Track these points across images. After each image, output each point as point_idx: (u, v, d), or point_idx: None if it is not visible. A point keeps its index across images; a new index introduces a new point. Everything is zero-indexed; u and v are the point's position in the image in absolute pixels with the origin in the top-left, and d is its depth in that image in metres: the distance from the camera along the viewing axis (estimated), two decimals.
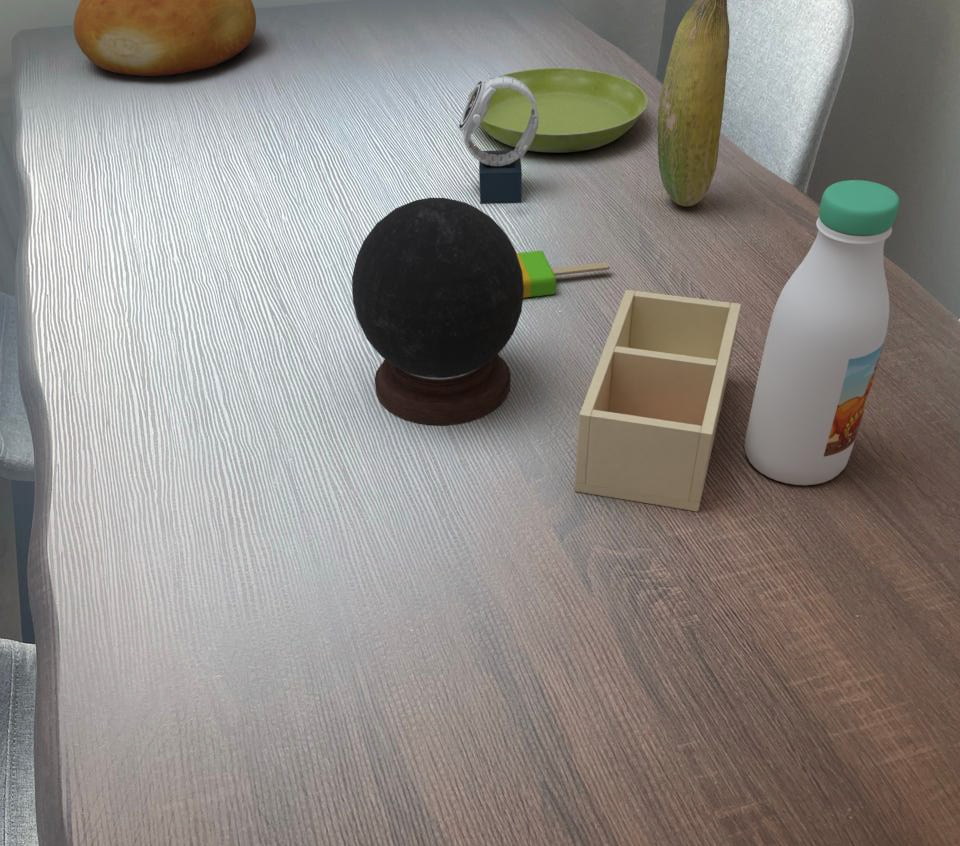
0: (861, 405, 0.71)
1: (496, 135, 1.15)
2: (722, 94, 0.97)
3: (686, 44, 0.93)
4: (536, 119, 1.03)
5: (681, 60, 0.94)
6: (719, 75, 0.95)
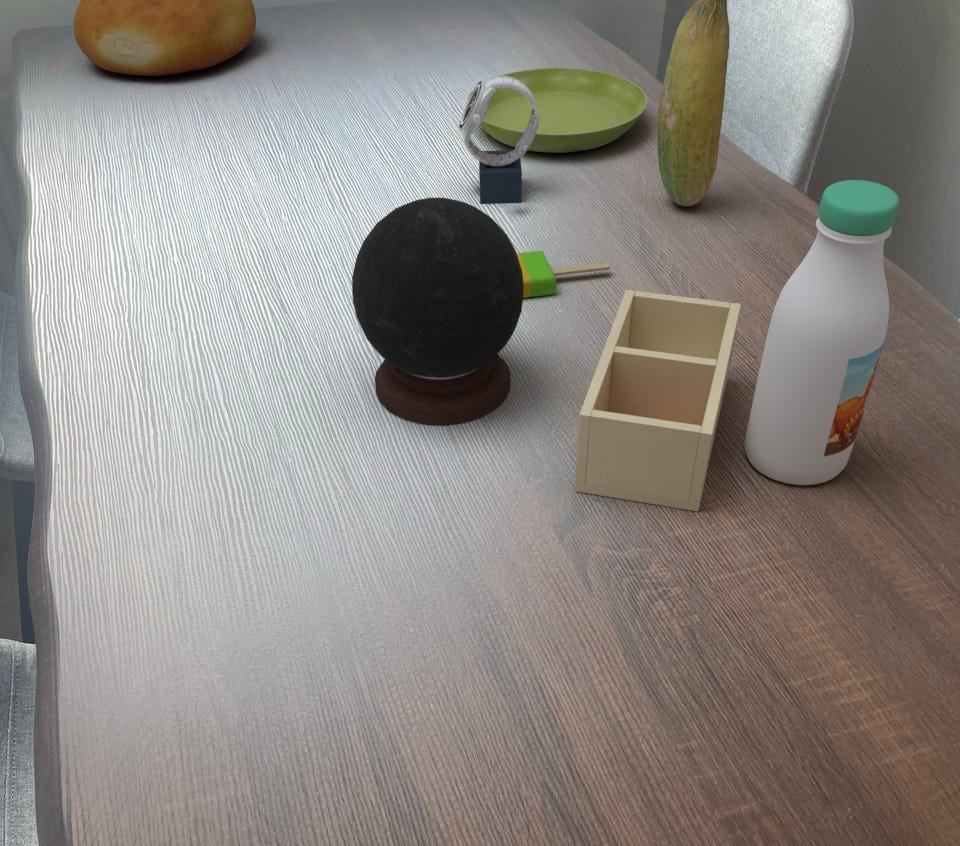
0: (861, 405, 0.71)
1: (496, 135, 1.15)
2: (722, 94, 0.97)
3: (686, 44, 0.93)
4: (536, 119, 1.03)
5: (681, 60, 0.94)
6: (719, 75, 0.95)
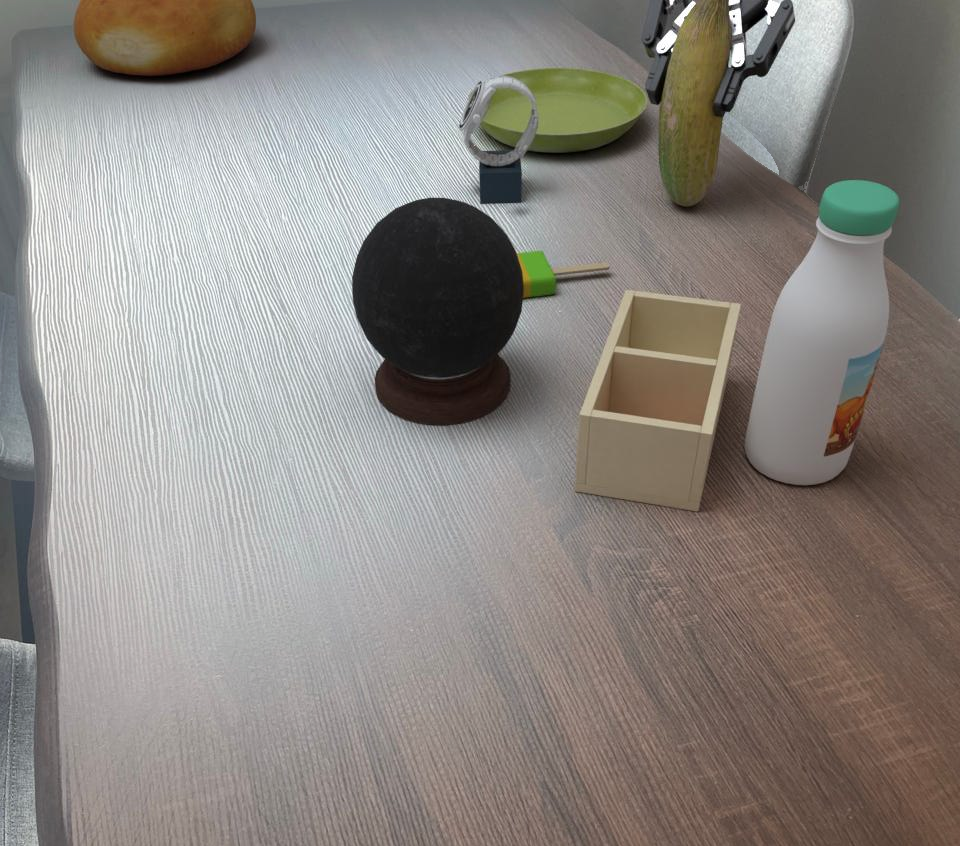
0: (861, 405, 0.71)
1: (496, 135, 1.15)
2: None
3: (688, 44, 0.93)
4: (536, 119, 1.03)
5: (683, 60, 0.94)
6: (721, 75, 0.95)
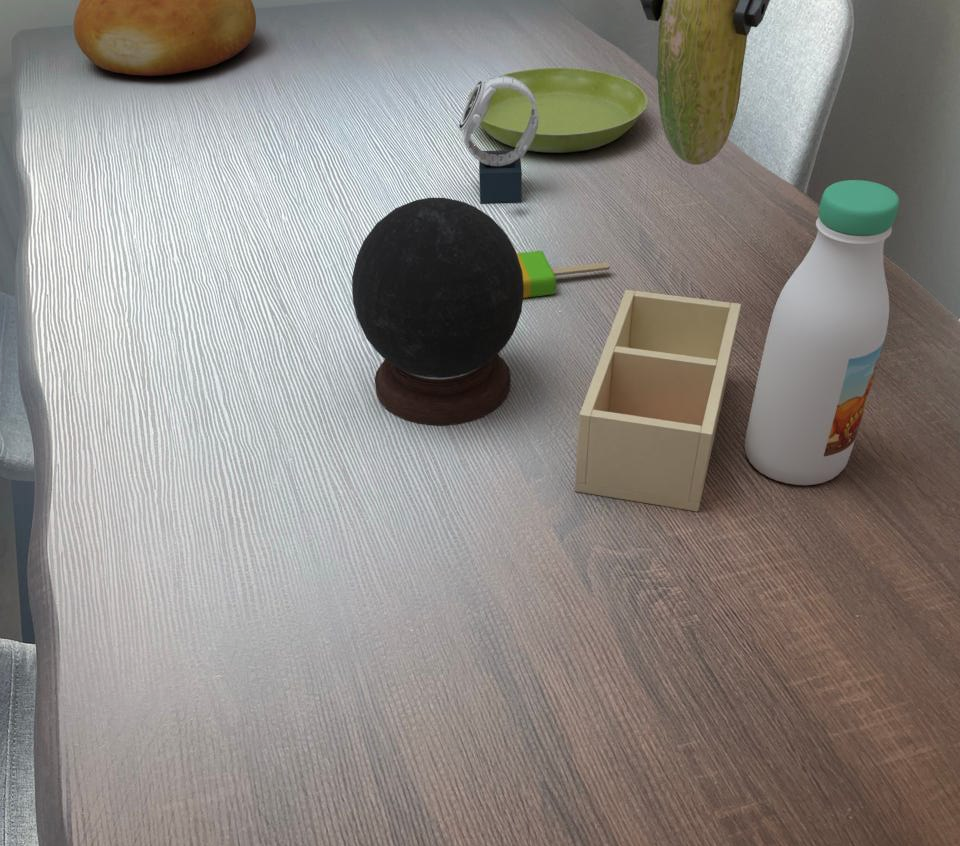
0: (861, 405, 0.71)
1: (496, 135, 1.15)
2: None
3: None
4: (536, 119, 1.03)
5: None
6: None
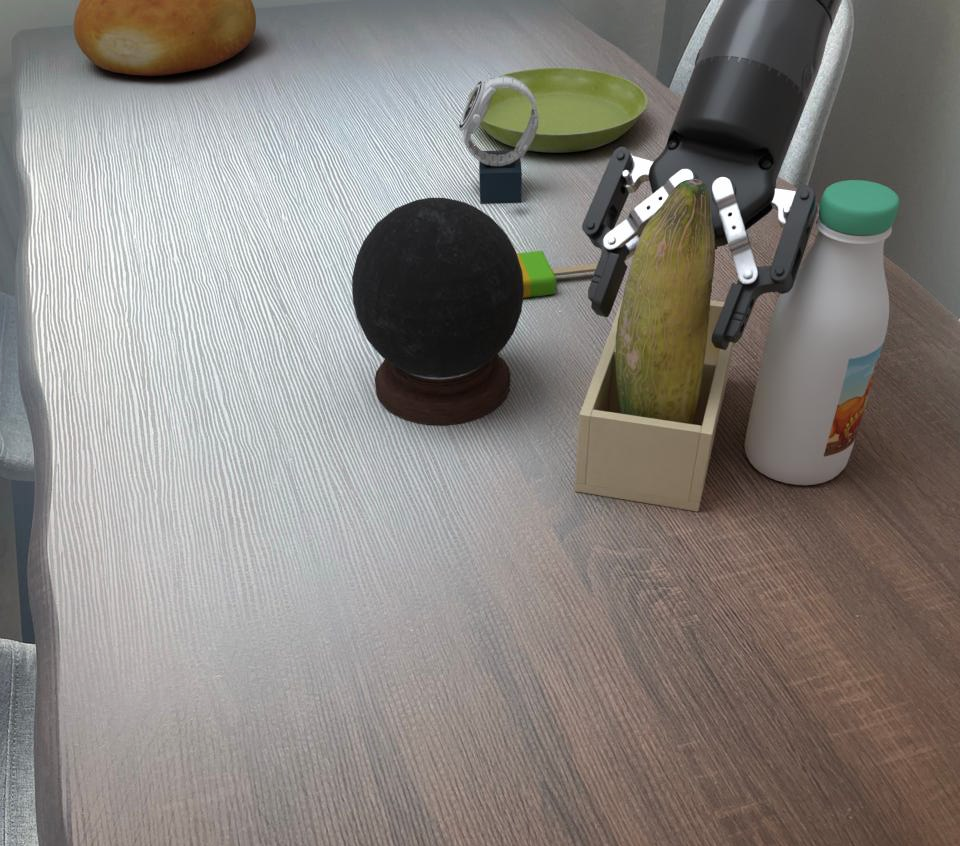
0: (861, 405, 0.71)
1: (496, 135, 1.15)
2: (705, 323, 0.68)
3: (652, 262, 0.64)
4: (536, 119, 1.03)
5: (645, 283, 0.65)
6: (701, 302, 0.66)
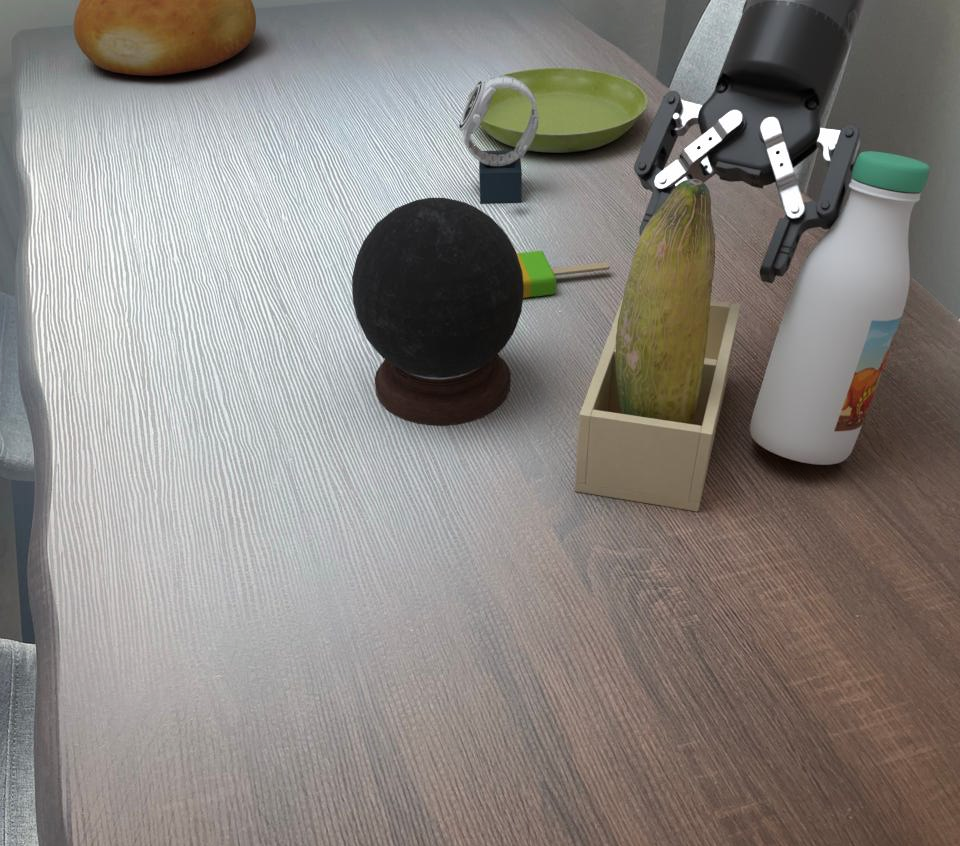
0: (874, 381, 0.71)
1: (496, 135, 1.15)
2: (705, 323, 0.68)
3: (652, 262, 0.64)
4: (536, 119, 1.03)
5: (645, 283, 0.65)
6: (701, 302, 0.66)
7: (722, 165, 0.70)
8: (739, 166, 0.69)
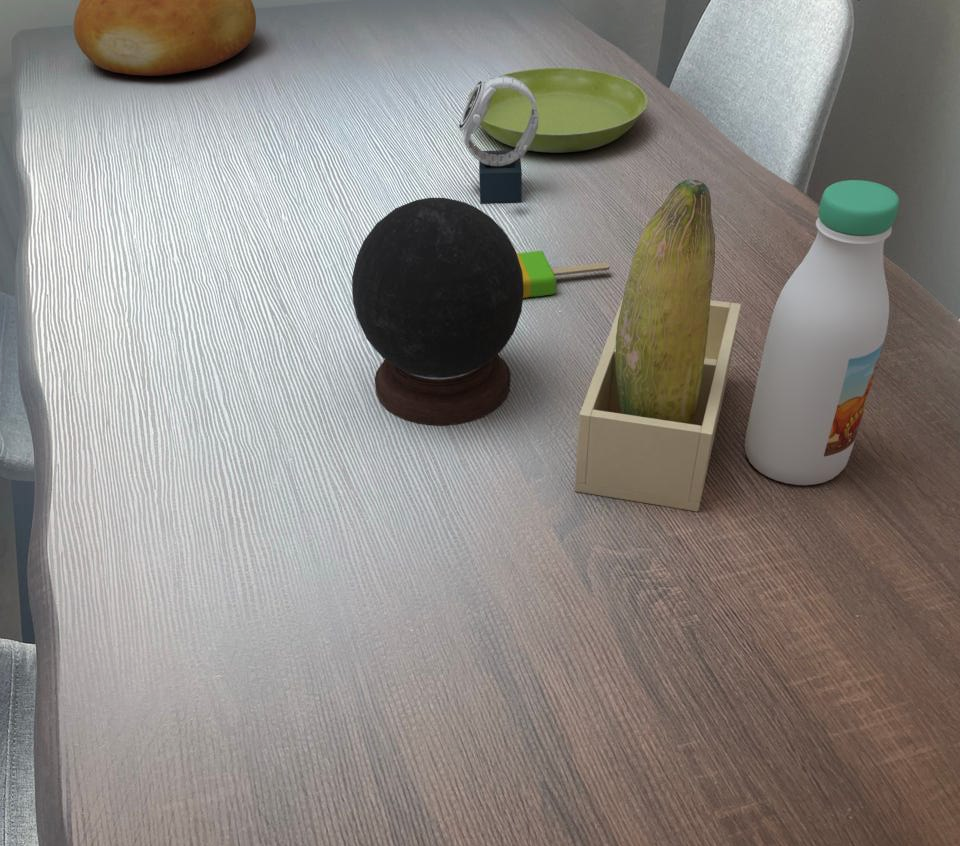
0: (861, 405, 0.71)
1: (496, 135, 1.15)
2: (705, 323, 0.68)
3: (652, 262, 0.64)
4: (536, 119, 1.03)
5: (645, 283, 0.65)
6: (701, 302, 0.66)
7: None
8: None
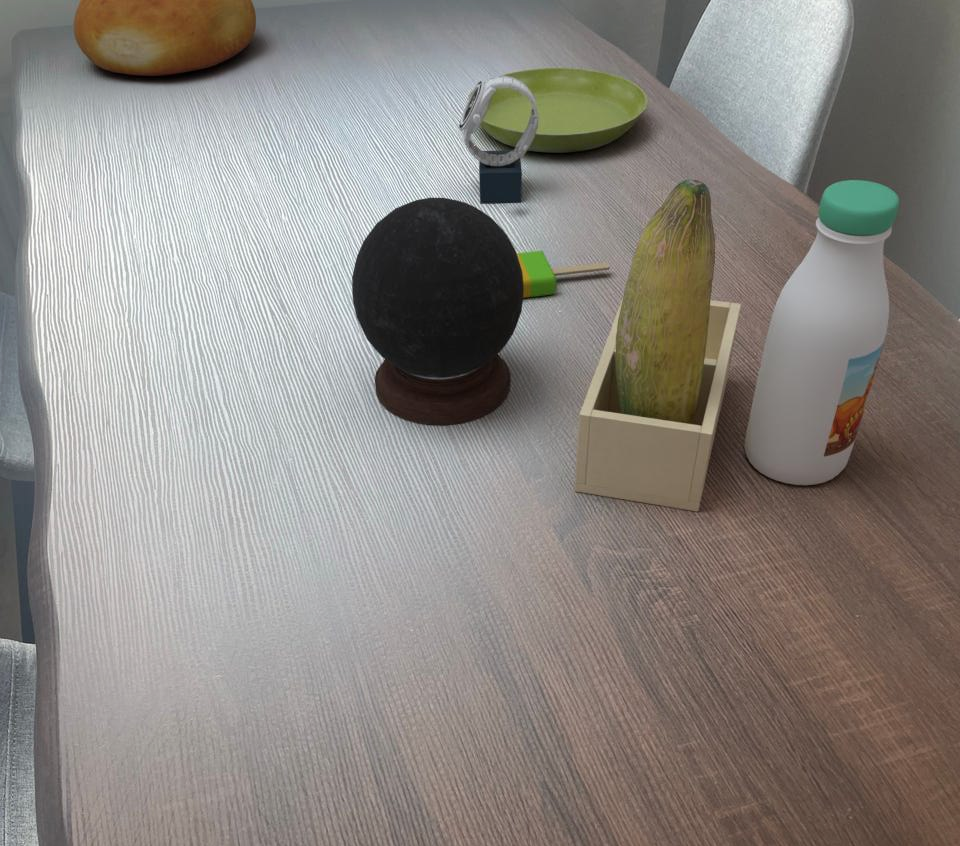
0: (861, 405, 0.71)
1: (496, 135, 1.15)
2: (705, 323, 0.68)
3: (652, 262, 0.64)
4: (536, 119, 1.03)
5: (645, 283, 0.65)
6: (701, 302, 0.66)
7: None
8: None
